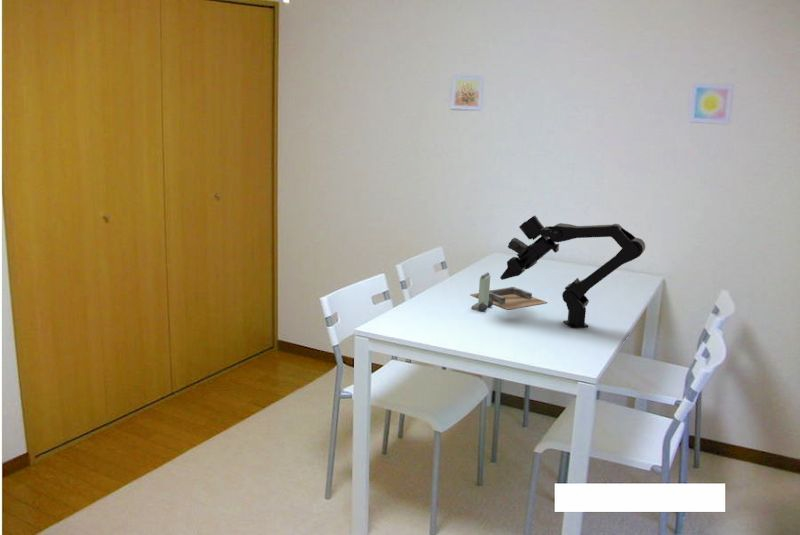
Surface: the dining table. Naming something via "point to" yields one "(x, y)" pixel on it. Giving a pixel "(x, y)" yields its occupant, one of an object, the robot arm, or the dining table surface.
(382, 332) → the dining table surface
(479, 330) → the dining table surface
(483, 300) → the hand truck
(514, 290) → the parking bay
